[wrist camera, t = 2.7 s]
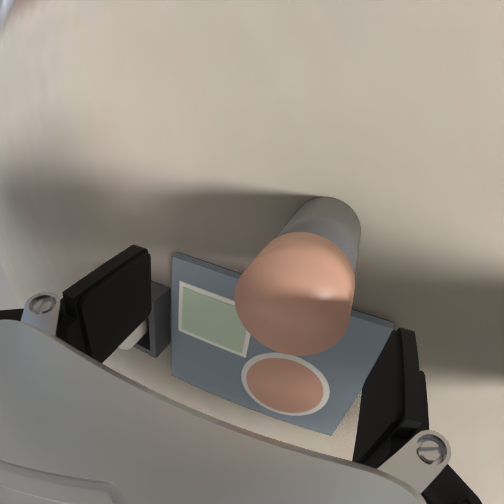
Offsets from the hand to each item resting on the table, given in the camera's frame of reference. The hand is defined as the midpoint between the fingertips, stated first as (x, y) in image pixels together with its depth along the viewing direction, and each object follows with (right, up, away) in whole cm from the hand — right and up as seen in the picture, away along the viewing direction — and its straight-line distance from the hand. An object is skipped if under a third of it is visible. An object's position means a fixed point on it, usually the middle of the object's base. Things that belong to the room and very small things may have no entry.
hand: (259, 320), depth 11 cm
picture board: (+1, -6, +15) cm, 16 cm away
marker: (+4, +4, +9) cm, 10 cm away
